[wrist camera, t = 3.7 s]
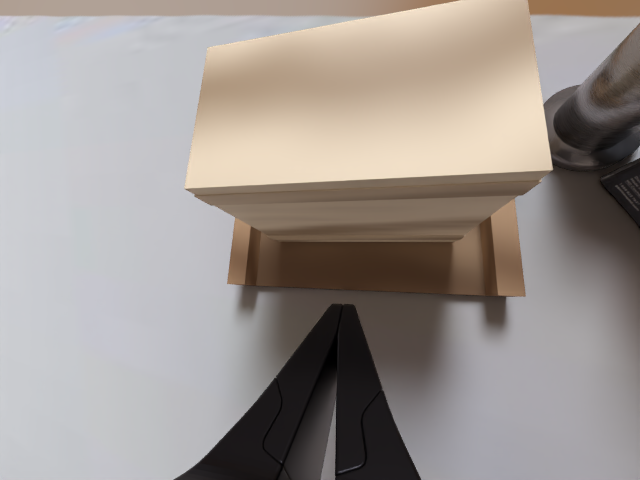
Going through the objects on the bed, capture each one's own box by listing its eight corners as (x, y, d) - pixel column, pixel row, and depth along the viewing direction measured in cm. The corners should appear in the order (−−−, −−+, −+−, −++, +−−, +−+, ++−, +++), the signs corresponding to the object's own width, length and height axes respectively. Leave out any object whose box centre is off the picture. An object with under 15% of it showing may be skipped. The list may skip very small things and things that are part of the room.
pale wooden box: (455, 242, 15) (555, 171, 7) (278, 242, 18) (182, 189, 9) (450, 148, 16) (527, -14, 8) (284, 160, 19) (207, 46, 10)
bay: (506, 296, 15) (537, 296, 12) (242, 285, 18) (217, 282, 15) (484, 73, 18) (504, 29, 15) (262, 101, 21) (244, 70, 19)
